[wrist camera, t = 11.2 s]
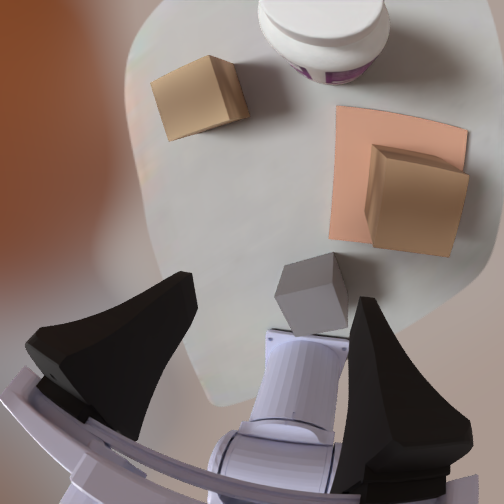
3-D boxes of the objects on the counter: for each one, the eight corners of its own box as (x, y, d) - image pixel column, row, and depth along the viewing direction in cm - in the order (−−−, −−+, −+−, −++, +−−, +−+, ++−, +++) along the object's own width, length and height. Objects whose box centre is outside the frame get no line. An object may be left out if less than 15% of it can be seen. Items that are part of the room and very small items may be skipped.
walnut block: (424, 220, 16) (448, 257, 12) (364, 211, 17) (373, 247, 13) (436, 155, 14) (469, 175, 10) (371, 144, 15) (386, 158, 11)
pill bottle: (371, 19, 11) (402, -52, 3) (367, 92, 14) (408, 75, 6) (286, 9, 12) (239, -65, 4) (282, 80, 15) (229, 54, 7)
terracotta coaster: (441, 248, 17) (443, 252, 17) (328, 235, 19) (328, 238, 19) (463, 129, 13) (467, 130, 12) (336, 105, 15) (336, 105, 14)
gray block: (347, 292, 21) (347, 327, 18) (302, 303, 23) (295, 337, 20) (333, 251, 20) (332, 283, 17) (284, 265, 22) (274, 296, 18)
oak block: (250, 116, 17) (229, 119, 13) (198, 133, 18) (168, 141, 15) (233, 63, 15) (208, 54, 12) (182, 84, 16) (150, 83, 13)
